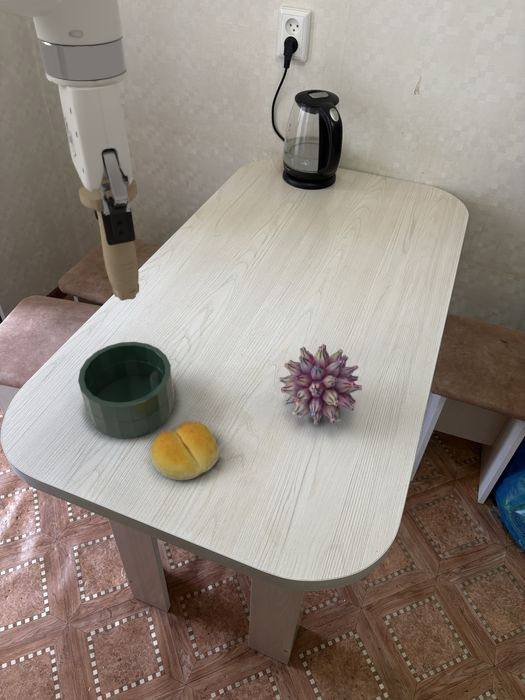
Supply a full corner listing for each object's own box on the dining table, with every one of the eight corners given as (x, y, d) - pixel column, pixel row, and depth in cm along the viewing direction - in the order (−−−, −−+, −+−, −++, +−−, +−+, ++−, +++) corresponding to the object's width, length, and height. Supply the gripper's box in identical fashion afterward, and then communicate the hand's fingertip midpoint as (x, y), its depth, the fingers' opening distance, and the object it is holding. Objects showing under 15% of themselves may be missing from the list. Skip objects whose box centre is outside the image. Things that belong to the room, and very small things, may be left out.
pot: (98, 450, 70) (89, 418, 65) (80, 387, 78) (70, 355, 73) (185, 421, 74) (182, 389, 69) (160, 365, 82) (155, 332, 77)
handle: (95, 296, 66) (70, 188, 56) (135, 276, 70) (118, 171, 59) (117, 313, 64) (95, 204, 53) (157, 291, 67) (144, 185, 57)
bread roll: (143, 448, 70) (139, 430, 67) (201, 423, 74) (200, 405, 71) (166, 494, 65) (163, 477, 62) (228, 465, 69) (228, 448, 66)
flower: (362, 419, 77) (317, 456, 69) (302, 377, 83) (254, 406, 75) (389, 361, 71) (343, 395, 63) (322, 319, 76) (272, 344, 68)
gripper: (30, 38, 52) (69, 202, 64) (58, 90, 41) (99, 275, 53) (104, 34, 54) (128, 192, 67) (149, 81, 43) (167, 260, 56)
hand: (115, 228), depth 60 cm, fingers closed on handle, 5 cm apart
